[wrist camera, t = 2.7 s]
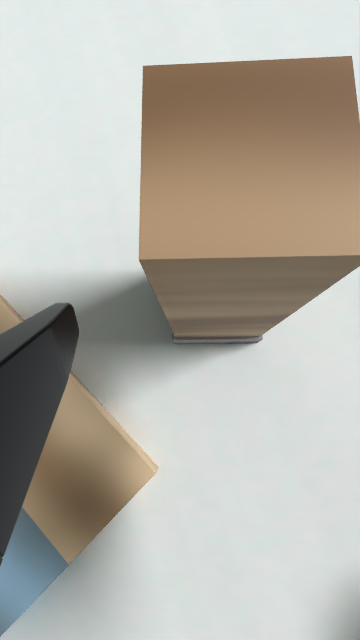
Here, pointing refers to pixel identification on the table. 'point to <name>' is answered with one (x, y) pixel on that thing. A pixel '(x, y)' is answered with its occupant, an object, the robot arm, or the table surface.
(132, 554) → the table surface
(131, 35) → the table surface
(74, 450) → the board
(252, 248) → the wooden pillar on base
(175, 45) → the table surface
